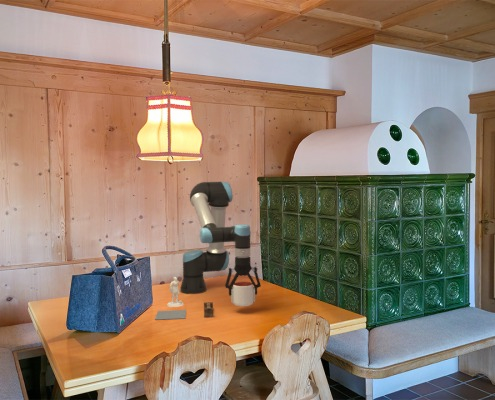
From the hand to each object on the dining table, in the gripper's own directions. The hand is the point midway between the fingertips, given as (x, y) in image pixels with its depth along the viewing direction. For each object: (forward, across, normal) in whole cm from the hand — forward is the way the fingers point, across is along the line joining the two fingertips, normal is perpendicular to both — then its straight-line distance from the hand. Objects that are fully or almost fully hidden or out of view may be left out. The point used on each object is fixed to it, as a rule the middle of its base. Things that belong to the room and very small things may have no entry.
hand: (243, 301), depth 234 cm
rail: (+5, -17, -1) cm, 18 cm away
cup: (+2, 0, 0) cm, 2 cm away
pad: (+5, -35, -1) cm, 35 cm away
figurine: (+6, -34, +18) cm, 39 cm away
